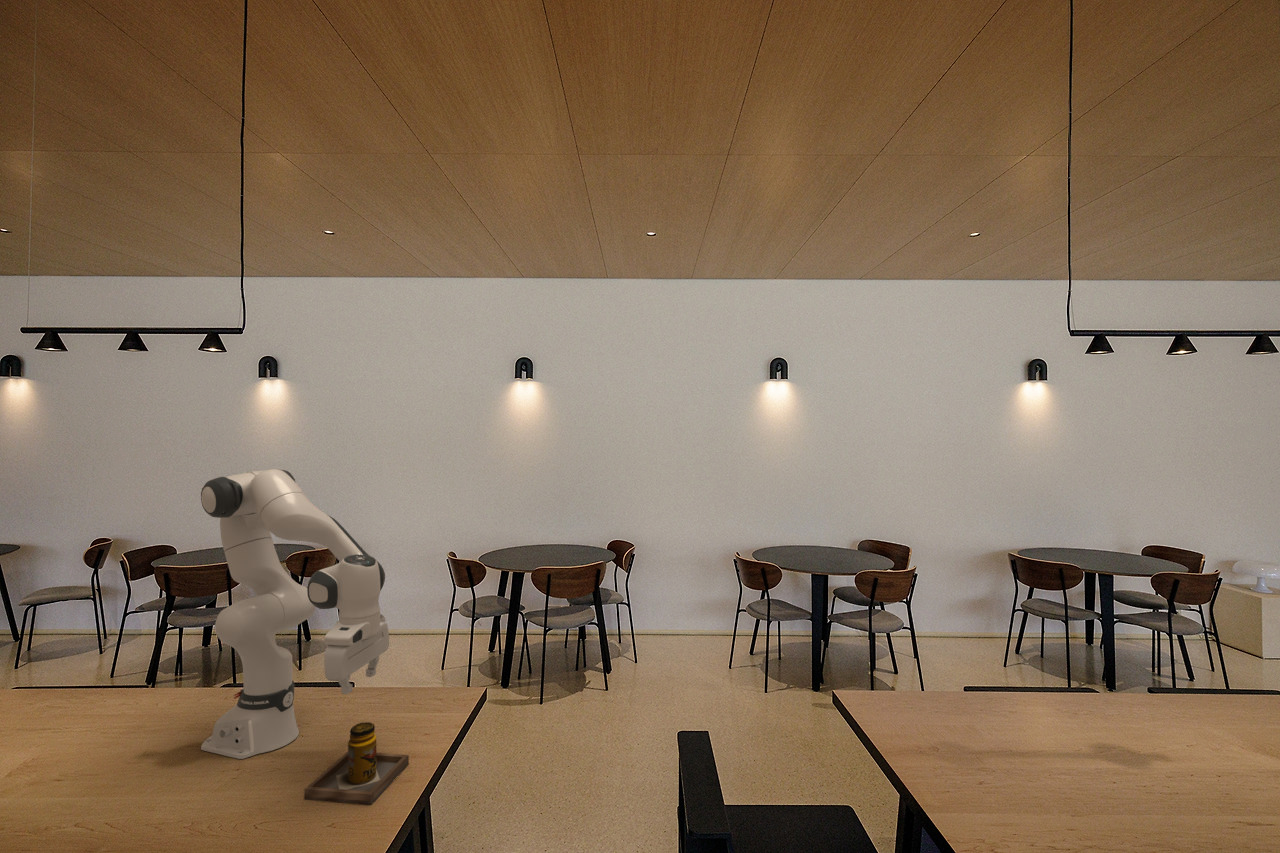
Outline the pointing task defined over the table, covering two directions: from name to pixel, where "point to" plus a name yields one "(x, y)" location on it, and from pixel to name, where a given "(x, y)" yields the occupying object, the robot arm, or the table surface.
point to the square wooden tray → (366, 794)
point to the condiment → (360, 758)
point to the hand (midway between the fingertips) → (359, 684)
